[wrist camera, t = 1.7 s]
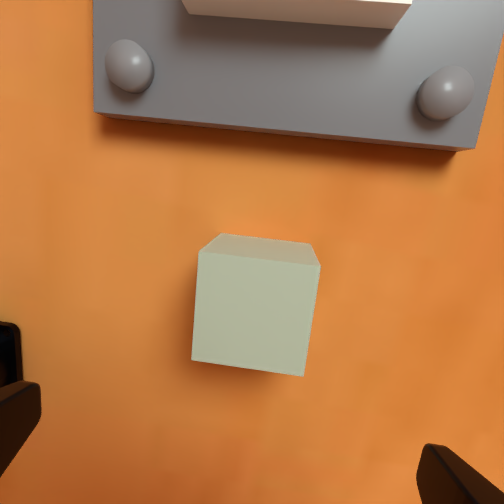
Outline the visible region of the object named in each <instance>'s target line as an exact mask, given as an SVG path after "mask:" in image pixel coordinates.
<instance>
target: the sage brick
mask: <svg viewBox="0 0 504 504" xmlns="http://www.w3.org/2000/svg"><path fill="white" fill-rule="evenodd" d="M320 269H321V266H320V263H319V261H318V259H317V257H316V255H315V253H314V251H313V248H312V246H311V244H309V243H301V242H293V241H284V240H276V239H267V238H259V237H251V236H242V235H234V234H226V233H220V234H219V235H218V236H217V237H215V238H214V239H213V240H212V241H211V242H209V243H208V244H207V245H206V246H205V247H203V248H202V249H201V250H200V251H199V255H198V270H197V284H196V299H195V313H194V328H193V342H192V356H191V360H194V361H200V362H207V363H214V364H221V365H228V366H235V367H241V368H248V369H255V370H262V371H269V372H275V373H282V374H289V375H296V376H303V377H304V370H305V364H306V358H307V351H308V345H309V339H310V332H311V326H312V320H313V313H314V307H315V301H316V294H317V288H318V281H319V275H320Z"/></svg>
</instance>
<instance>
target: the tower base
mask: <svg viewBox="0 0 504 504" xmlns="http://www.w3.org/2000/svg"><path fill="white" fill-rule="evenodd" d="M503 33H504V0H93V86H94V112H96V113H98V114H101V115H104V116H106V117H109V118H117V119H127V120H138V121H148V122H158V123H169V124H179V125H189V126H199V127H210V128H220V129H230V130H241V131H251V132H261V133H271V134H282V135H292V136H302V137H313V138H323V139H333V140H343V141H354V142H364V143H374V144H385V145H395V146H405V147H415V148H426V149H436V150H446V151H457V152H458V151H463V150H469V149H475V146H476V142H477V138H478V134H479V130H480V126H481V122H482V118H483V114H484V110H485V106H486V102H487V98H488V94H489V90H490V86H491V82H492V78H493V74H494V70H495V66H496V62H497V57H498V53H499V49H500V45H501V41H502V37H503Z"/></svg>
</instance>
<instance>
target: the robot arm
mask: <svg viewBox="0 0 504 504" xmlns="http://www.w3.org/2000/svg"><path fill="white" fill-rule="evenodd" d="M8 330H9V331H10V332H9V331H8ZM40 417H41V390H40V386H39V384H37V383H34V382H28V381H22V364H21V348H20V332H19V328H18V327H17V325H15V324H13V323H9V322H2V321H0V477H1V476H2V474H3V473H4V471H5V470H6V469H7V467H8V466H9V464H10V463H11V461H12V460H13V459H14V457H15V456H16V454H17V453H18V451H19V450H20V448H21V447H22V446H23V444H24V443H25V441H26V440H27V438H28V437H29V435H30V434H31V433H32V431H33V430H34V428H35V427H36V425H37V424H38V422H39V420H40ZM416 481H417V486H418V490H419V494H420V497H421V501H422V504H504V493H503V492H502V491H501V490H499V489H498V488H497V487H496V486H494V485H493V484H492V483H491V482H490V481H488V480H487V479H486V478H485V477H483V476H482V475H481V474H480V473H479V472H477V471H476V470H475V469H474V468H472V467H471V466H470V465H469V464H467V463H466V462H465V461H464V460H463V459H461V458H460V457H459V456H458V455H456V454H455V453H454V452H453V451H451V450H450V449H449V448H448V447H446V446H443V445H437V444H430V443H428V444H426V445H425V446H424V447H423V450H422V454H421V458H420V462H419V465H418V469H417V474H416Z"/></svg>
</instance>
